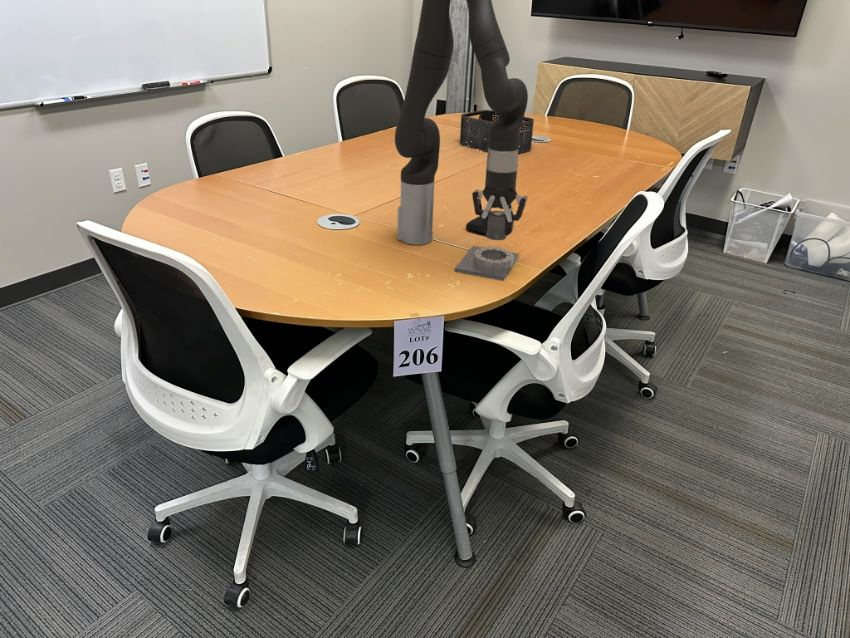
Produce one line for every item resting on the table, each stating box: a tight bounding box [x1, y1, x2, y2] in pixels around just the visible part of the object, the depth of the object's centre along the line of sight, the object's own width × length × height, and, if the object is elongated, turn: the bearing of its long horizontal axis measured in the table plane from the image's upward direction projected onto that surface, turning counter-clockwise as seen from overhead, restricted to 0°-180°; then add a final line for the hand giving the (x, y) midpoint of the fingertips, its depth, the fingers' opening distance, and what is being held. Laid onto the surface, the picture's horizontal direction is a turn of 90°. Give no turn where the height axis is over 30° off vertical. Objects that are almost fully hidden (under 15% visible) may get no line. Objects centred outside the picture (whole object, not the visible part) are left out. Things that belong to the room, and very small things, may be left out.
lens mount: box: [454, 245, 520, 282], centre depth 161 cm, size 13×16×3 cm
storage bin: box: [459, 109, 535, 154], centre depth 266 cm, size 29×19×13 cm
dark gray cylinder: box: [486, 210, 508, 241], centre depth 155 cm, size 5×5×6 cm
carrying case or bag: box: [465, 215, 486, 236], centre depth 184 cm, size 11×3×15 cm
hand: (496, 232), depth 156 cm, fingers closed on dark gray cylinder, 5 cm apart
